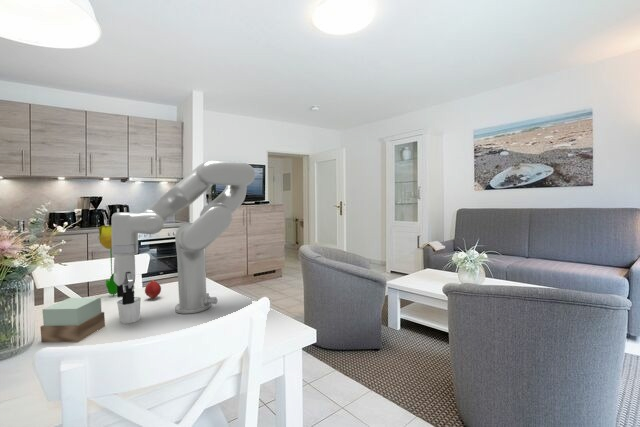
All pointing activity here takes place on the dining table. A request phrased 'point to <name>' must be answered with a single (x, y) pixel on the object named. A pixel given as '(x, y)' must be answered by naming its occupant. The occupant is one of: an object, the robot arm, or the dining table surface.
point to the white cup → (129, 311)
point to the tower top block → (71, 311)
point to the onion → (153, 289)
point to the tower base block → (72, 330)
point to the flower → (106, 241)
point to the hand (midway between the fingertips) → (125, 300)
